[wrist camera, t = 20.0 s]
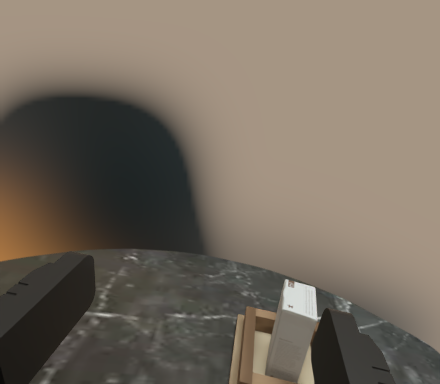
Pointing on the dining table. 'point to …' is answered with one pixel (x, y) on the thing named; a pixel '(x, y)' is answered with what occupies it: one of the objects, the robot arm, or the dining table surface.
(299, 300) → the skincare box
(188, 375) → the dining table surface
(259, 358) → the socket board
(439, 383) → the dining table surface
